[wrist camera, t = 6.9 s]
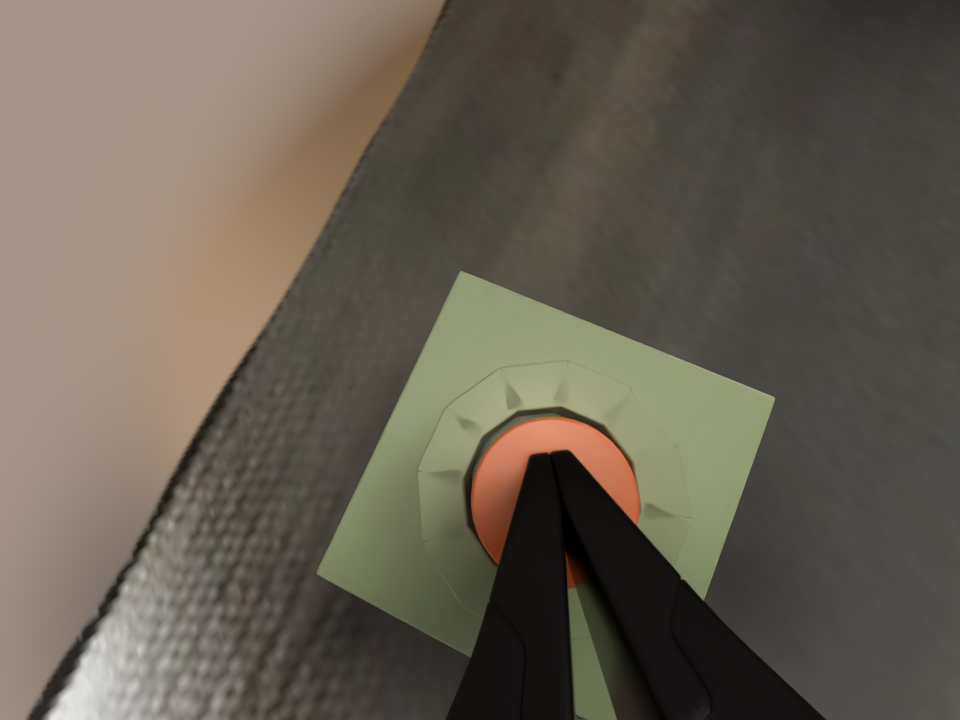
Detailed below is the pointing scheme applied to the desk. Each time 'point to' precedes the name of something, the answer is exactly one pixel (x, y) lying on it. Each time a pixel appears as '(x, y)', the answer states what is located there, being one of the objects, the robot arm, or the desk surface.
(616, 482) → the orange cylinder cap
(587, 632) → the green push button box
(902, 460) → the desk surface
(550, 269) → the desk surface
